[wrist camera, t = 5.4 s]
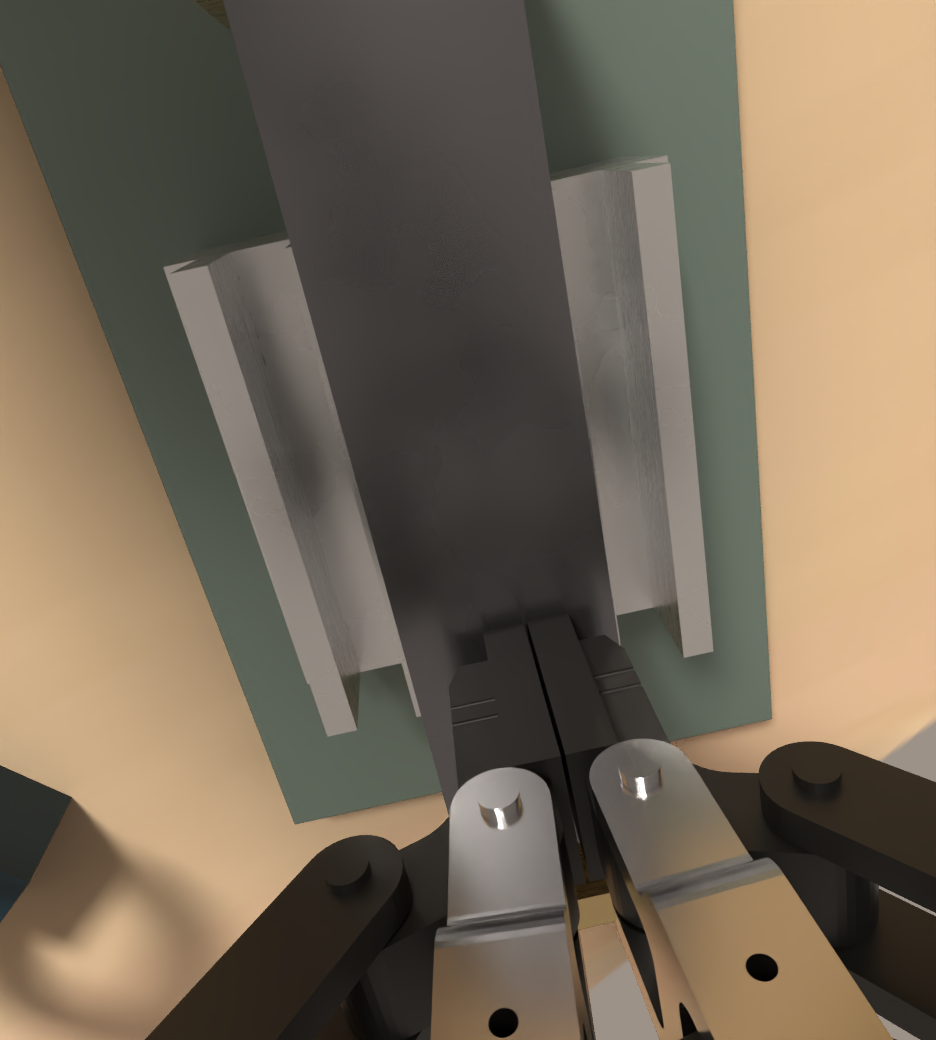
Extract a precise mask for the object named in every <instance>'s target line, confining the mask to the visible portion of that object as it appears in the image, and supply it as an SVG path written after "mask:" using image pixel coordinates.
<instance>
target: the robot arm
mask: <svg viewBox="0 0 936 1040" xmlns="http://www.w3.org/2000/svg"><path fill="white" fill-rule="evenodd" d="M527 627H528V632H529V637H530V642H531V647H532V652H533V655H532V652H531V648H530V644H529V641H528V637H527V634H526V630H525V627H524V623H521V624H516V625H512V626H507V627H503V628H498V629H493V630H489V631H484V632H483V635H484V641H485V646H486V652H487V657H488V660H487V661H482V662H478V663H473V664H468V665H464V666H459V667H458V669H457V671H456V673H455V675H454V677H453V679H452V681H451V683H450V685H449V697H450V707H451V718H452V725H453V739H454V749H455V760H456V770H457V780H458V791H457V793H456V794H455V796H454V798H453V800H452V803H451V807H450V816H449V817H448V818H447V819H446V821H445V822H444V823H443V824H442V825H441V826H440V827H439V828H438V829H436V830H435V831H434V832H432V833H431V834H429V835H428V836H426V837H424V838H423V839H421V840H419V841H417V842H415V843H413V844H411V845H409V846H407V847H405V848H403V849H401V850H398V849H397V848H396V846H395V845H394V844H392V843H391V842H390V841H388V840H386V839H384V838H381V837H378V836H372V835H359V836H353V837H349V838H346V839H343V840H340V841H338V842H336V843H333V844H332V845H330V846H328V847H326V848H325V849H324V850H322V851H321V852H320V853H318V854H317V855H316V856H315V857H314V858H313V859H312V860H311V861H310V862H309V863H308V864H307V865H306V866H305V867H304V868H303V870H302V871H301V872H300V873H299V874H298V875H297V876H296V877H295V878H294V879H293V880H292V881H291V882H290V884H289V885H288V886H287V887H286V888H285V889H284V890H283V891H282V892H281V893H280V894H279V895H278V897H277V898H276V899H275V900H274V901H273V902H272V903H271V904H270V905H269V906H268V907H267V908H266V909H265V911H264V912H263V913H262V914H261V915H260V916H259V917H258V918H257V919H256V920H255V921H254V922H253V924H252V925H251V926H250V927H249V928H248V929H247V930H246V931H245V932H244V933H243V934H242V935H241V936H240V938H239V939H238V940H237V941H236V942H235V943H234V944H233V945H232V946H231V947H230V948H229V949H228V951H227V952H226V953H225V954H224V955H223V956H222V957H221V958H220V959H219V960H218V961H217V962H216V963H215V965H214V966H213V967H212V968H211V969H210V970H209V971H208V972H207V973H206V974H205V975H204V976H203V978H202V979H201V980H200V981H199V982H198V983H197V984H196V985H195V986H194V987H193V988H192V989H191V990H190V992H189V993H188V994H187V995H186V996H185V997H184V998H183V999H182V1000H181V1001H180V1002H179V1003H178V1005H177V1006H176V1007H175V1008H174V1009H173V1010H172V1011H171V1012H170V1013H169V1014H168V1015H167V1016H166V1018H165V1019H164V1020H163V1021H162V1022H161V1023H160V1024H159V1025H158V1026H157V1027H156V1028H155V1029H154V1030H153V1032H152V1033H151V1034H150V1035H149V1036H148V1037H147V1038H146V1039H145V1040H596V1038H595V1032H594V1025H593V1018H592V1012H591V1005H590V998H589V992H588V985H587V978H586V971H585V965H584V958H583V951H582V945H581V938H580V933H579V929H578V925H579V920H580V911H579V905H578V900H577V895H576V890H575V886H574V885H579V884H583V883H586V882H585V877H584V872H583V867H582V862H581V856H580V851H579V846H578V841H577V836H576V831H577V835H578V839H579V843H580V846H581V850H582V854H583V857H584V861H585V865H586V868H587V872H588V876H589V879H590V882H591V881H596V880H601V879H606V883H607V886H608V889H609V893H610V896H611V900H612V906H613V911H614V917H615V922H616V926H617V930H618V933H619V935H620V938H621V941H622V943H623V946H624V948H625V951H626V954H627V956H628V959H629V961H630V964H631V966H632V969H633V972H634V974H635V977H636V980H637V982H638V985H639V987H640V990H641V993H642V995H643V998H644V1000H645V1003H646V1006H647V1008H648V1011H649V1013H650V1016H651V1019H652V1021H653V1024H654V1026H655V1029H656V1032H657V1034H658V1037H659V1039H660V1040H896V1039H893V1038H892V1037H891V1036H890V1034H889V1032H888V1031H887V1029H886V1028H885V1026H884V1025H883V1023H882V1022H881V1020H880V1019H879V1018H878V1016H877V1014H878V1015H880V1016H882V1017H883V1018H885V1019H887V1020H888V1021H890V1022H892V1023H893V1024H895V1025H897V1026H898V1027H900V1028H902V1029H903V1030H905V1031H907V1032H908V1033H910V1034H912V1035H913V1036H915V1037H917V1038H919V1039H920V1040H936V916H934V915H932V914H930V913H928V912H925V911H924V910H921V909H919V908H917V907H915V906H913V905H911V904H909V903H907V902H905V901H903V900H901V899H899V898H897V897H895V896H893V895H891V894H889V893H886V892H884V891H882V890H880V889H879V886H881V887H884V888H885V889H887V890H890V891H892V892H894V893H896V894H898V895H900V896H902V897H904V898H906V899H908V900H910V901H912V902H914V903H916V904H919V905H921V906H923V907H925V908H927V909H929V910H931V911H933V912H935V913H936V782H933V781H931V780H928V779H926V778H923V777H920V776H918V775H915V774H912V773H909V772H907V771H904V770H901V769H899V768H896V767H893V766H891V765H888V764H885V763H882V762H880V761H877V760H875V759H872V758H869V757H867V756H864V755H861V754H859V753H856V752H853V751H851V750H848V749H845V748H843V747H840V746H837V745H833V744H829V743H824V742H797V743H792V744H788V745H785V746H782V747H780V748H777V749H776V750H774V751H773V752H771V753H770V754H769V755H768V756H767V757H766V758H765V759H764V760H763V762H762V764H761V766H760V769H759V773H730V772H719V771H714V770H709V769H706V768H702V767H699V766H697V765H695V764H692V763H691V761H690V760H689V758H688V757H687V756H686V754H685V753H683V752H682V751H681V750H680V749H678V748H677V747H675V746H673V745H671V744H670V742H669V740H668V738H667V736H666V734H665V732H664V730H663V728H662V726H661V724H660V722H659V719H658V717H657V715H656V713H655V711H654V709H653V707H652V705H651V703H650V701H649V699H648V697H647V694H646V692H645V690H644V688H643V686H641V682H640V680H639V678H638V676H637V674H636V672H635V671H634V668H633V665H632V663H631V661H630V659H629V657H628V655H627V653H626V651H625V649H624V648H623V647H622V646H620V645H619V644H617V643H616V642H614V641H613V640H611V639H610V638H608V637H607V636H606V635H601V636H597V637H592V638H587V639H583V640H578V638H577V635H576V633H575V630H574V628H573V625H572V622H571V620H570V617H569V615H568V613H566V614H562V615H557V616H552V617H548V618H543V619H539V620H534V621H529V622H527ZM533 657H534V659H533ZM573 820H574V821H573ZM574 824H575V826H574ZM575 828H576V831H575ZM876 1013H877V1014H876Z"/></svg>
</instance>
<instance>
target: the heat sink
mask: <svg viewBox="0 0 936 1040" xmlns="http://www.w3.org/2000/svg"><path fill="white" fill-rule="evenodd" d="M549 174H550V181H551V187H552V194H553V201H554V208H555V214H556V221H557V228H558V235H559V241H560V248H561V255H562V262H563V268H564V275H565V282H566V288H567V295H568V302H569V309H570V315H571V322H572V329H573V336H574V342H575V349H576V356H577V363H578V369H579V376H580V383H581V390H582V396H583V403H584V410H585V417H586V423H587V430H588V437H589V444H590V450H591V457H592V464H593V471H594V477H595V484H596V491H597V497H598V504H599V511H600V518H601V524H602V531H603V538H604V545H605V551H606V558H607V565H608V572H609V578H610V585H611V592H612V599H613V605H614V612H615V619H616V626H617V632H618V639H619V645H620V646H621V644H620V637H619V630H618V623H617V616H616V615H621V614H625V613H630V612H634V611H639V610H643V609H648V608H653V607H654V609H655V610H656V612H657V614H658V615H659V617H660V619H661V620H662V622H663V624H664V625H665V627H666V629H667V630H668V632H669V634H670V636H671V637H672V639H673V641H674V642H675V644H676V646H677V647H678V649H679V651H680V652H681V654H682V656H683V657H684V658H686V657H690V656H695V655H699V654H704V653H708V652H713V640H712V629H711V617H710V606H709V595H708V583H707V572H706V561H705V549H704V538H703V527H702V515H701V504H700V493H699V481H698V470H697V459H696V447H695V436H694V425H693V414H692V402H691V391H690V380H689V368H688V357H687V346H686V334H685V323H684V312H683V300H682V289H681V278H680V266H679V255H678V244H677V232H676V221H675V210H674V198H673V187H672V176H671V164H670V163H668V155H662V156H622V157H618V158H613V159H609V160H604V161H600V162H595V163H591V164H586V165H582V166H577V167H573V168H568V169H564V170H559V171H555V172H550V173H549ZM163 268H164V271H165V274H166V277H167V280H168V283H169V285H170V288H171V291H172V294H173V297H174V300H175V303H176V306H177V309H178V311H179V314H180V317H181V320H182V323H183V326H184V329H185V332H186V335H187V338H188V340H189V343H190V346H191V349H192V352H193V355H194V358H195V361H196V364H197V366H198V369H199V372H200V375H201V378H202V381H203V384H204V387H205V390H206V393H207V395H208V398H209V401H210V404H211V407H212V410H213V413H214V416H215V419H216V421H217V424H218V427H219V430H220V433H221V436H222V439H223V442H224V445H225V448H226V450H227V453H228V456H229V459H230V462H231V465H232V468H233V471H234V474H235V476H236V479H237V482H238V485H239V488H240V491H241V494H242V497H243V500H244V502H245V505H246V508H247V511H248V514H249V517H250V520H251V523H252V526H253V529H254V531H255V534H256V537H257V540H258V543H259V546H260V549H261V552H262V555H263V557H264V560H265V563H266V566H267V569H268V572H269V575H270V578H271V581H272V584H273V586H274V589H275V592H276V595H277V598H278V601H279V604H280V607H281V610H282V612H283V615H284V618H285V621H286V624H287V627H288V630H289V633H290V636H291V639H292V641H293V644H294V647H295V650H296V653H297V656H298V659H299V662H300V665H301V667H302V670H303V673H304V676H305V679H306V682H307V684H310V687H311V690H312V693H313V696H314V699H315V702H316V705H317V707H318V710H319V713H320V716H321V719H322V722H323V725H324V728H325V731H326V734H327V737H329V736H333V735H338V734H342V733H347V732H351V731H356V730H357V726H358V708H359V690H360V672H363V671H368V670H373V669H377V668H382V667H386V666H391V665H395V664H400V663H401V664H402V667H403V671H404V674H405V678H406V681H407V685H408V688H409V692H410V695H411V699H412V702H413V706H414V710H415V713H416V717H419V716H421V713H420V710H419V706H418V702H417V699H416V695H415V692H414V688H413V684H412V681H411V677H410V674H409V670H408V666H407V663H406V659H405V655H404V652H403V648H402V645H401V641H400V637H399V634H398V630H397V627H396V623H395V619H394V616H393V612H392V609H391V605H390V601H389V598H388V594H387V591H386V587H385V583H384V580H383V576H382V573H381V569H380V565H379V562H378V558H377V554H376V551H375V547H374V544H373V540H372V536H371V533H370V529H369V526H368V522H367V518H366V515H365V511H364V508H363V504H362V500H361V497H360V493H359V490H358V486H357V482H356V479H355V475H354V472H353V468H352V464H351V461H350V457H349V454H348V450H347V446H346V443H345V439H344V435H343V432H342V428H341V425H340V421H339V417H338V414H337V410H336V407H335V403H334V399H333V396H332V392H331V389H330V385H329V381H328V378H327V374H326V371H325V367H324V363H323V360H322V356H321V353H320V349H319V345H318V342H317V338H316V335H315V331H314V327H313V324H312V320H311V316H310V313H309V309H308V306H307V302H306V298H305V295H304V291H303V288H302V284H301V280H300V277H299V273H298V270H297V266H296V262H295V259H294V255H293V252H292V248H291V244H290V241H289V237H288V234H287V231H284V232H279V233H275V234H270V235H266V236H261V237H257V238H252V239H248V240H243V241H239V242H234V243H230V244H225V245H221V246H216V247H212V248H207V249H203V250H199V251H197V252H195V253H192V254H190V255H188V256H186V257H184V258H182V259H180V260H177V261H175V262H173V263H171V264H169V265H167V266H165V267H163Z"/></svg>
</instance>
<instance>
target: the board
mask: <svg viewBox="0 0 936 1040" xmlns="http://www.w3.org/2000/svg"><path fill="white" fill-rule="evenodd" d="M524 5H525V12H526V19H527V26H528V32H529V39H530V46H531V53H532V59H533V66H534V73H535V79H536V86H537V93H538V100H539V106H540V113H541V120H542V127H543V133H544V140H545V147H546V154H547V160H548V167H549V173H550V172H555V171H559V170H564V169H568V168H573V167H577V166H582V165H586V164H591V163H595V162H600V161H604V160H609V159H613V158H618V157H622V156H662V155H668V163H670V164H671V176H672V187H673V198H674V210H675V221H676V232H677V244H678V255H679V266H680V278H681V289H682V300H683V312H684V323H685V334H686V346H687V357H688V368H689V380H690V391H691V402H692V414H693V425H694V436H695V447H696V459H697V470H698V481H699V493H700V504H701V515H702V527H703V538H704V549H705V561H706V572H707V583H708V595H709V606H710V617H711V629H712V640H713V652H708V653H704V654H699V655H695V656H690V657H686V658H684V657H683V656H682V654H681V652H680V651H679V649H678V647H677V646H676V644H675V642H674V641H673V639H672V637H671V636H670V634H669V632H668V630H667V629H666V627H665V625H664V624H663V622H662V620H661V619H660V617H659V615H658V614H657V612H656V610H655V609H654V607H653V608H648V609H643V610H639V611H634V612H630V613H625V614H621V615H616V616H617V623H618V630H619V637H620V644H621V646H622V647H623V648H624V649H625V651H626V653H627V655H628V657H629V659H630V661H631V663H632V665H633V668H634V671H635V672H636V674H637V676H638V678H639V680H640V682H641V686H643V688H644V690H645V692H646V694H647V697H648V699H649V701H650V703H651V705H652V707H653V709H654V711H655V713H656V715H657V717H658V719H659V722H660V724H661V726H662V728H663V730H664V732H665V734H666V736H667V738H668V740H669V742H670V741H674V740H679V739H683V738H688V737H692V736H697V735H701V734H706V733H710V732H715V731H719V730H724V729H728V728H733V727H737V726H742V725H746V724H751V723H756V722H760V721H765V720H769V719H772V709H771V691H770V672H769V654H768V636H767V617H766V599H765V580H764V562H763V544H762V525H761V507H760V489H759V470H758V452H757V434H756V415H755V397H754V378H753V360H752V342H751V323H750V305H749V287H748V268H747V250H746V232H745V213H744V195H743V177H742V158H741V140H740V121H739V103H738V85H737V66H736V48H735V30H734V11H733V0H524ZM0 65H1V67H2V70H3V73H4V75H5V78H6V80H7V83H8V86H9V88H10V91H11V93H12V96H13V98H14V101H15V104H16V106H17V109H18V111H19V114H20V117H21V119H22V122H23V124H24V127H25V129H26V132H27V135H28V137H29V140H30V142H31V145H32V147H33V150H34V153H35V155H36V158H37V160H38V163H39V166H40V168H41V171H42V173H43V176H44V178H45V181H46V184H47V186H48V189H49V191H50V194H51V197H52V199H53V202H54V204H55V207H56V209H57V212H58V215H59V217H60V220H61V222H62V225H63V227H64V230H65V233H66V235H67V238H68V240H69V243H70V246H71V248H72V251H73V253H74V256H75V258H76V261H77V264H78V266H79V269H80V271H81V274H82V277H83V279H84V282H85V284H86V287H87V289H88V292H89V295H90V297H91V300H92V302H93V305H94V307H95V310H96V313H97V315H98V318H99V320H100V323H101V326H102V328H103V331H104V333H105V336H106V338H107V341H108V344H109V346H110V349H111V351H112V354H113V357H114V359H115V362H116V364H117V367H118V369H119V372H120V375H121V377H122V380H123V382H124V385H125V387H126V390H127V393H128V395H129V398H130V400H131V403H132V406H133V408H134V411H135V413H136V416H137V418H138V421H139V424H140V426H141V429H142V431H143V434H144V436H145V439H146V442H147V444H148V447H149V449H150V452H151V455H152V457H153V460H154V462H155V465H156V467H157V470H158V473H159V475H160V478H161V480H162V483H163V486H164V488H165V491H166V493H167V496H168V498H169V501H170V504H171V506H172V509H173V511H174V514H175V516H176V519H177V522H178V524H179V527H180V529H181V532H182V535H183V537H184V540H185V542H186V545H187V547H188V550H189V553H190V555H191V558H192V560H193V563H194V566H195V568H196V571H197V573H198V576H199V578H200V581H201V584H202V586H203V589H204V591H205V594H206V596H207V599H208V602H209V604H210V607H211V609H212V612H213V615H214V617H215V620H216V622H217V625H218V627H219V630H220V633H221V635H222V638H223V640H224V643H225V646H226V648H227V651H228V653H229V656H230V658H231V661H232V664H233V666H234V669H235V671H236V674H237V676H238V679H239V682H240V684H241V687H242V689H243V692H244V695H245V697H246V700H247V702H248V705H249V707H250V710H251V713H252V715H253V718H254V720H255V723H256V726H257V728H258V731H259V733H260V736H261V738H262V741H263V744H264V746H265V749H266V751H267V754H268V756H269V759H270V762H271V764H272V767H273V769H274V772H275V775H276V777H277V780H278V782H279V785H280V787H281V790H282V793H283V795H284V798H285V800H286V803H287V806H288V808H289V811H290V813H291V816H292V818H293V821H294V824H299V823H304V822H308V821H313V820H317V819H322V818H326V817H331V816H335V815H340V814H344V813H349V812H353V811H358V810H363V809H367V808H372V807H376V806H381V805H385V804H390V803H394V802H399V801H403V800H408V799H412V798H417V797H421V796H426V795H430V794H435V793H439V792H442V789H441V785H440V782H439V778H438V774H437V771H436V767H435V764H434V760H433V756H432V753H431V749H430V746H429V742H428V738H427V735H426V731H425V728H424V724H423V720H422V717H421V716H419V717H416V713H415V710H414V706H413V702H412V699H411V695H410V692H409V688H408V685H407V681H406V678H405V674H404V671H403V667H402V664H401V663H400V664H395V665H391V666H386V667H382V668H377V669H373V670H368V671H363V672H360V690H359V708H358V726H357V730H356V731H351V732H347V733H342V734H338V735H333V736H329V737H327V734H326V731H325V728H324V725H323V722H322V719H321V716H320V713H319V710H318V707H317V705H316V702H315V699H314V696H313V693H312V690H311V687H310V684H307V682H306V679H305V676H304V673H303V670H302V667H301V665H300V662H299V659H298V656H297V653H296V650H295V647H294V644H293V641H292V639H291V636H290V633H289V630H288V627H287V624H286V621H285V618H284V615H283V612H282V610H281V607H280V604H279V601H278V598H277V595H276V592H275V589H274V586H273V584H272V581H271V578H270V575H269V572H268V569H267V566H266V563H265V560H264V557H263V555H262V552H261V549H260V546H259V543H258V540H257V537H256V534H255V531H254V529H253V526H252V523H251V520H250V517H249V514H248V511H247V508H246V505H245V502H244V500H243V497H242V494H241V491H240V488H239V485H238V482H237V479H236V476H235V474H234V471H233V468H232V465H231V462H230V459H229V456H228V453H227V450H226V448H225V445H224V442H223V439H222V436H221V433H220V430H219V427H218V424H217V421H216V419H215V416H214V413H213V410H212V407H211V404H210V401H209V398H208V395H207V393H206V390H205V387H204V384H203V381H202V378H201V375H200V372H199V369H198V366H197V364H196V361H195V358H194V355H193V352H192V349H191V346H190V343H189V340H188V338H187V335H186V332H185V329H184V326H183V323H182V320H181V317H180V314H179V311H178V309H177V306H176V303H175V300H174V297H173V294H172V291H171V288H170V285H169V283H168V280H167V277H166V274H165V271H164V268H163V267H165V266H167V265H169V264H171V263H173V262H175V261H177V260H180V259H182V258H184V257H186V256H188V255H190V254H192V253H195V252H197V251H199V250H203V249H207V248H212V247H216V246H221V245H225V244H230V243H234V242H239V241H243V240H248V239H252V238H257V237H261V236H266V235H270V234H275V233H279V232H284V231H287V230H286V226H285V223H284V219H283V216H282V212H281V208H280V205H279V201H278V197H277V194H276V190H275V187H274V183H273V179H272V176H271V172H270V169H269V165H268V161H267V158H266V154H265V151H264V147H263V143H262V140H261V136H260V133H259V129H258V125H257V122H256V118H255V115H254V111H253V107H252V104H251V100H250V97H249V93H248V89H247V86H246V82H245V78H244V75H243V71H242V68H241V64H240V60H239V57H238V53H237V50H236V46H235V42H234V39H233V35H232V32H231V28H228V29H227V28H226V27H225V26H224V25H223V24H221V23H220V22H219V21H218V20H216V19H215V18H214V17H213V16H212V15H210V14H209V13H208V12H207V11H206V10H204V9H203V8H202V7H201V6H200V5H198V4H197V3H196V2H195V1H193V0H0Z"/></svg>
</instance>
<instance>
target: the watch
mask: <svg viewBox="0 0 936 1040" xmlns="http://www.w3.org/2000/svg"><path fill="white" fill-rule="evenodd" d="M71 798H72V797H69V796H67V795H65V794H63V793H60V792H58V791H56V790H54V789H51V788H49V787H47V786H44V785H42V784H40V783H38V782H35V781H33V780H31V779H29V778H26V777H24V776H22V775H20V774H17V773H15V772H13V771H11V770H8V769H6V768H4V767H2V766H0V922H1V921H2V919H3V918H4V917H5V915H6V914H7V913H8V911H9V910H10V908H11V907H12V906H13V904H14V903H15V902H16V900H17V899H18V897H19V896H20V895H21V893H22V892H23V890H24V889H25V888H26V886H27V885H28V884H29V882H30V880H31V878H32V876H33V874H34V872H35V870H36V868H37V866H38V864H39V862H40V860H41V858H42V856H43V854H44V852H45V850H46V848H47V846H48V844H49V842H50V840H51V838H52V836H53V834H54V832H55V830H56V828H57V826H58V824H59V822H60V820H61V818H62V816H63V814H64V812H65V810H66V808H67V806H68V804H69V802H70V800H71Z"/></svg>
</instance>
